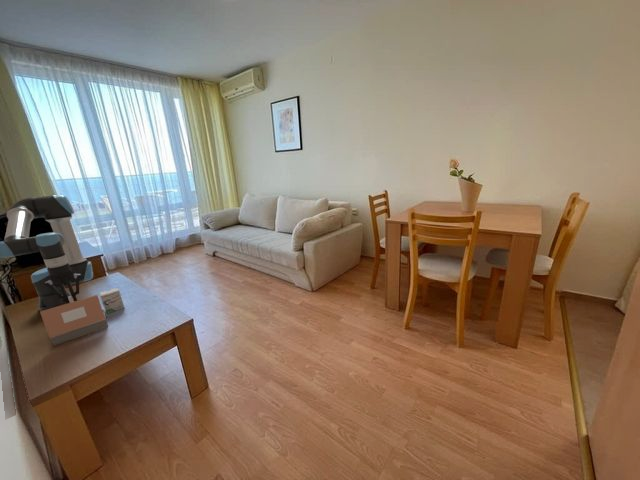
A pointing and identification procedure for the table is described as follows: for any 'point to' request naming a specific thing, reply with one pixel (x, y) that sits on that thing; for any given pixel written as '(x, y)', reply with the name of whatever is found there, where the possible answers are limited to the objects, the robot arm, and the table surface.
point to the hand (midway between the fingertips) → (74, 308)
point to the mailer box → (80, 332)
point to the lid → (72, 316)
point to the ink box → (112, 300)
